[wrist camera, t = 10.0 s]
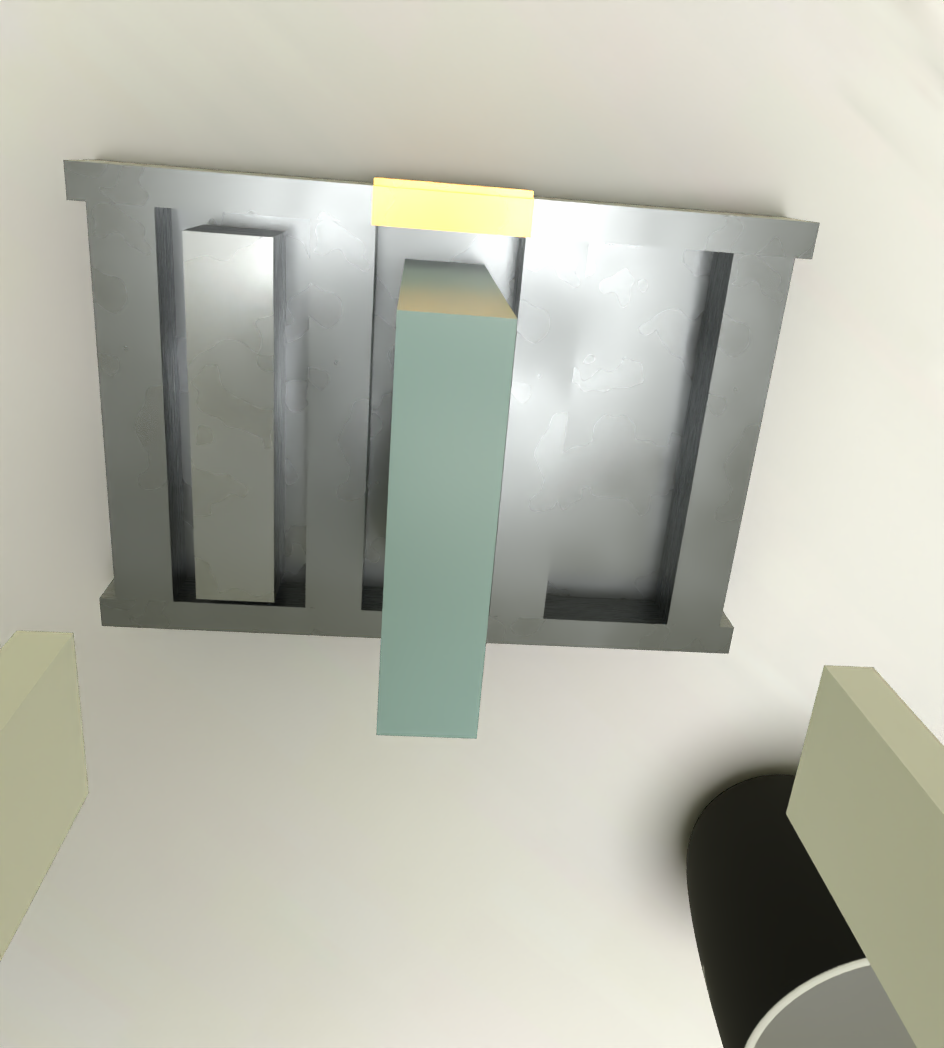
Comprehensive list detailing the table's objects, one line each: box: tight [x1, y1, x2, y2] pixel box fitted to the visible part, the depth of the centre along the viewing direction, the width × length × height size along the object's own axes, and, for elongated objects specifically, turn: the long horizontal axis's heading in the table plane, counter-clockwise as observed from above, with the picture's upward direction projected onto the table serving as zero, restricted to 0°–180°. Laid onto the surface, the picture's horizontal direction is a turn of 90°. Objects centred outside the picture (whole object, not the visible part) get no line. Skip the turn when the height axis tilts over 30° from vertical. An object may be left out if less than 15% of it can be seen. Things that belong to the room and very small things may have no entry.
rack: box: [64, 160, 819, 653], centre depth 28 cm, size 21×14×4 cm
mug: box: [687, 775, 917, 1048], centre depth 33 cm, size 12×9×10 cm
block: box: [376, 259, 517, 739], centre depth 24 cm, size 2×10×10 cm, turn 176°
